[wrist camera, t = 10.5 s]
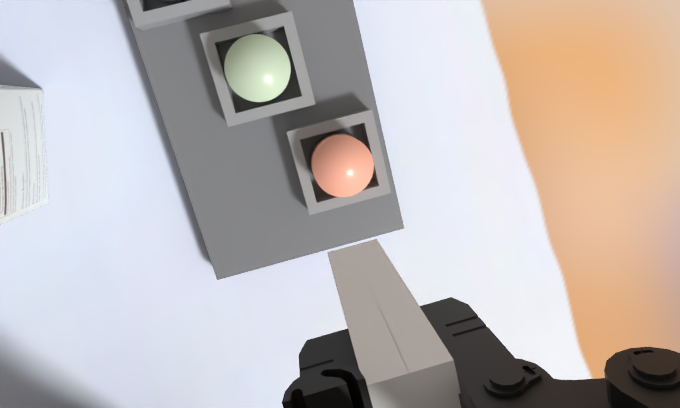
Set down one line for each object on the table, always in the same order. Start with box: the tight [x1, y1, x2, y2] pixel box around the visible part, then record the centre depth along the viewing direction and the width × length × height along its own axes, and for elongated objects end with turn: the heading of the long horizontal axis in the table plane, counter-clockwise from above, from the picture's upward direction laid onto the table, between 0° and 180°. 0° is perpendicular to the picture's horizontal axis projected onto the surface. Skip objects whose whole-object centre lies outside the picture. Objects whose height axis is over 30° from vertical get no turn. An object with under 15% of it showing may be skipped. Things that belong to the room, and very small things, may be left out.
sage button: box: [224, 34, 291, 102], centre depth 34 cm, size 4×4×4 cm
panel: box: [123, 0, 404, 280], centre depth 36 cm, size 16×30×4 cm, turn 14°
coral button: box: [310, 133, 374, 197], centre depth 36 cm, size 4×4×4 cm
